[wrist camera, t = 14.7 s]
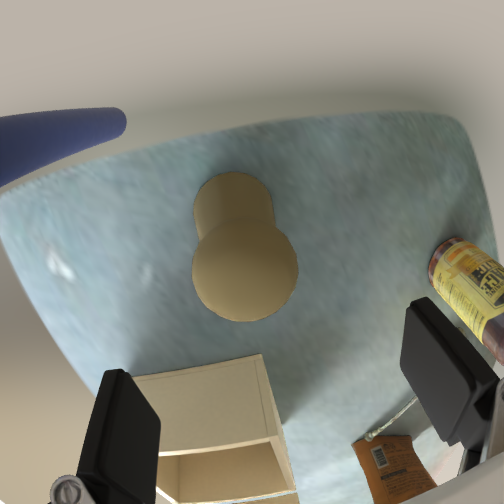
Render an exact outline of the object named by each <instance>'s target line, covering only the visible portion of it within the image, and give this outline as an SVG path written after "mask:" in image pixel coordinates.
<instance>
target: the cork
mask: <svg viewBox="0 0 504 504" xmlns="http://www.w3.org/2000/svg"><path fill="white" fill-rule="evenodd" d="M193 215H194V220H195V224H196V228H197V232H198V237H199V241H200V242H199V244H198V246H197V249H196V251H195V253H194V256H193V261H192V280H193V283H194V286H195V289H196V292H197V294H198V297H199V298H200V299H201V301H202V302H203V303H204V304H205V306H206V307H207V308H208V309H210V310H211V311H213V312H214V313H216V314H217V315H219V316H221V317H223V318H226V319H229V320H232V321H237V322H251V321H256V320H260V319H264V318H266V317H268V316H270V315H272V314H274V313H276V312H277V311H278V310H279V309H280V308H281V307H282V306H283V305H284V304H285V303H286V302H287V301H288V299H289V298H290V296H291V294H292V293H293V291H294V289H295V287H296V282H297V278H298V263H297V256H296V253H295V251H294V249H293V247H292V245H291V243H290V242H289V240H288V238H287V237H286V235H285V234H283V233H282V232H281V231H280V230H279V229H278V228H277V227H276V224H275V218H274V211H273V205H272V200H271V196H270V194H269V192H268V191H267V189H266V187H265V186H264V185H263V184H262V183H261V182H260V181H259V180H257V179H256V178H255V177H252V176H250V175H248V174H245V173H238V172H228V173H224V174H220V175H217V176H215V177H214V178H212V179H210V180H209V181H207V182H206V183H205V184H204V186H203V187H202V188H201V189H200V190H199V192H198V194H197V196H196V199H195V201H194V210H193Z"/></svg>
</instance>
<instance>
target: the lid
mask: <svg viewBox="0 0 504 504" xmlns="http://www.w3.org/2000/svg"><path fill="white" fill-rule="evenodd" d="M233 504H300V503H299V499H298V494H297V493H293V494H288V495H283V496H278V497H273V498H267V499H261V500H255V501H248V502H241V503H233Z"/></svg>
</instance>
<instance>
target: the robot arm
mask: <svg viewBox="0 0 504 504" xmlns="http://www.w3.org/2000/svg"><path fill="white" fill-rule="evenodd" d="M400 367H401V370H402V372H403V374H404V375H405V377H406V379H407V380H408V382H409V384H410V386H411V387H412V389H413V391H414V392H415V394H416V396H417V398H418V399H419V401H420V403H421V405H422V406H423V408H424V410H425V412H426V413H427V415H428V417H429V419H430V420H431V422H432V424H433V426H434V428H435V430H436V431H437V433H438V435H439V437H440V439H441V440H442V441H443V442H445V441H447V443H448V445H449V447H450V446H452V445H454V444H456V443H458V442H460V441H461V443H462V445H463V446H464V448H465V449H464V453H463V456H462V460H461V464H460V468H459V471H458V475H457V477H455V478H453V479H452V480H450V481H448V482H446V483H444V484H442V485H439V486H437V487H435V488H433V489H431V490H429V491H427V492H425V493H422V494H420V495H418V496H416V497H414V498H411V499H409V500H406V501H404V502H402V503H399V504H504V378H502V379H501V380H500V378H499V377H498V376H497V375H496V373H495V372H494V371H493V370H492V368H491V367H490V366H489V365H488V363H487V362H486V361H485V360H484V358H483V357H482V356H481V355H480V354H479V352H478V351H477V350H476V349H475V348H474V346H473V345H472V344H471V343H470V342H469V340H468V339H467V338H466V337H465V336H464V335H463V333H462V332H461V331H460V330H459V329H458V328H457V327H455V326H454V325H453V324H452V323H451V322H450V321H449V319H448V318H447V317H446V316H445V315H444V314H443V313H442V312H441V311H440V309H439V308H438V307H437V306H436V305H435V304H434V303H433V302H432V301H431V300H430V299H429V298H428V297H423V298H420V299H417V300H415V301H412V302H411V303H410V307H408V308H407V309H406V317H405V326H404V335H403V343H402V350H401V357H400ZM160 434H161V421H160V418H159V416H158V415H157V413H156V412H155V411H154V409H153V408H152V406H151V405H150V404H149V402H148V401H147V399H146V398H145V396H144V395H143V394H142V392H141V391H140V389H139V388H138V386H137V385H136V383H135V382H134V380H133V379H132V377H131V375H130V374H129V373H128V372H125V371H124V370H123V369H114V370H106V371H105V372H104V375H103V378H102V381H101V384H100V387H99V391H98V394H97V397H96V401H95V404H94V408H93V411H92V414H91V418H90V421H89V425H88V429H87V433H86V436H85V440H84V444H83V448H82V452H81V456H80V461H79V464H78V469H77V474H76V476H73V475H64V476H62V477H59V478H58V479H57V480H56V481H55V482H54V483H53V485H52V487H51V490H50V500H51V502H50V503H48V504H155V499H156V482H157V468H158V456H159V445H160Z"/></svg>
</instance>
